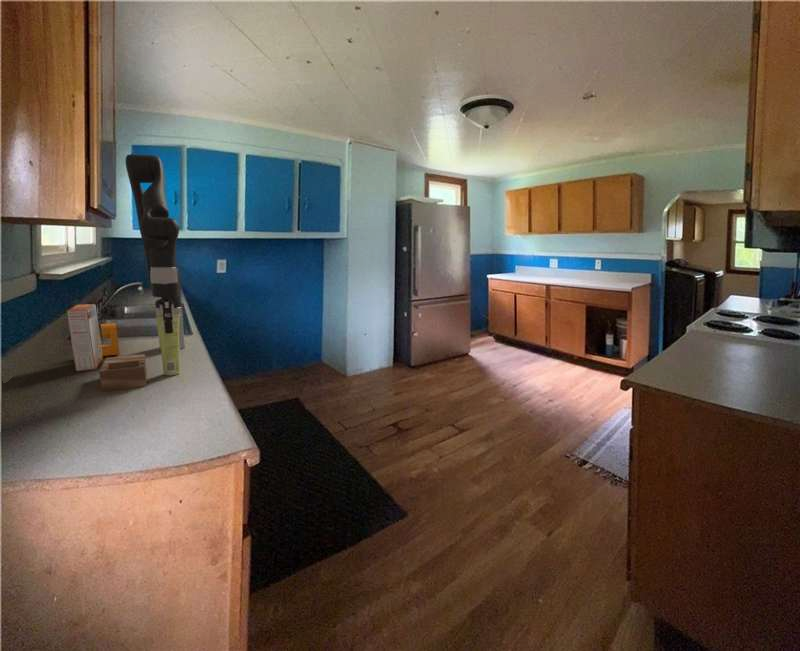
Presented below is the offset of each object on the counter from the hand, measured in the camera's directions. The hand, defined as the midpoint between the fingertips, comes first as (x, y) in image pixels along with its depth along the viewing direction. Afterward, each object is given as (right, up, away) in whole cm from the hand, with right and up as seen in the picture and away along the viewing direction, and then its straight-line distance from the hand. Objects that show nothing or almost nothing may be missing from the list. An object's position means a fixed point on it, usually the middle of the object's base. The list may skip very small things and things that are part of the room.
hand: (168, 330), depth 134 cm
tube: (0, -15, +3) cm, 15 cm away
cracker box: (-33, -13, +10) cm, 37 cm away
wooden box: (-10, -16, -5) cm, 20 cm away
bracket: (-38, -10, +25) cm, 46 cm away
